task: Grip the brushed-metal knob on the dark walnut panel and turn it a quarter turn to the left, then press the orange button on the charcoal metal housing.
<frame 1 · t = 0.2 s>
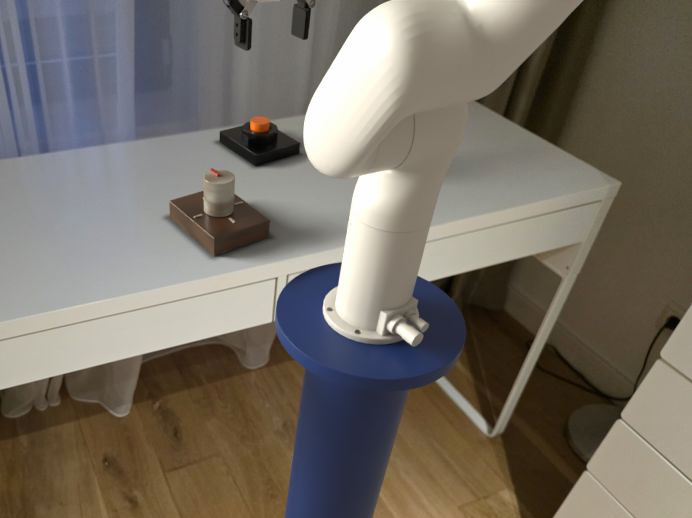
hand: (271, 42, 92), 25 cm above the table, tool pointing down, fingers open, 9 cm apart
perfume bottle: (332, 167, 119), on the table
button box: (258, 148, 124), on the table
button: (260, 125, 121), point 4 cm above the table, slide at 0.1 cm
knob: (219, 192, 98), point 6 cm above the table, hinge at 0.0°
panel: (218, 227, 102), on the table
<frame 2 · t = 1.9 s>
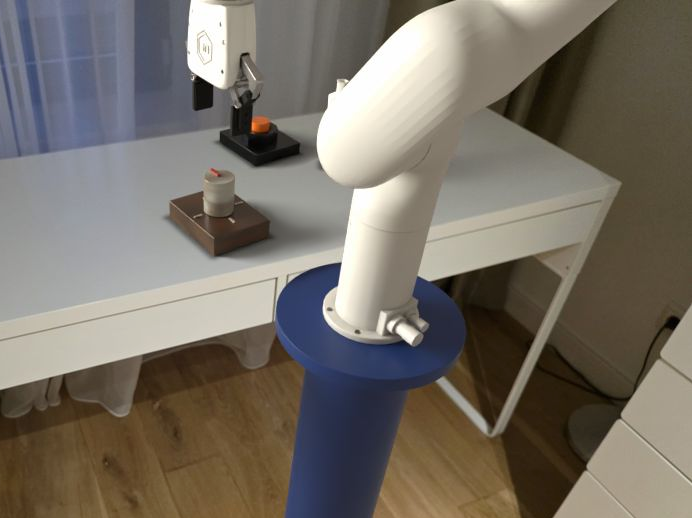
hand: (221, 120, 92), 17 cm above the table, tool pointing down, fingers open, 9 cm apart
nothing on the table moved.
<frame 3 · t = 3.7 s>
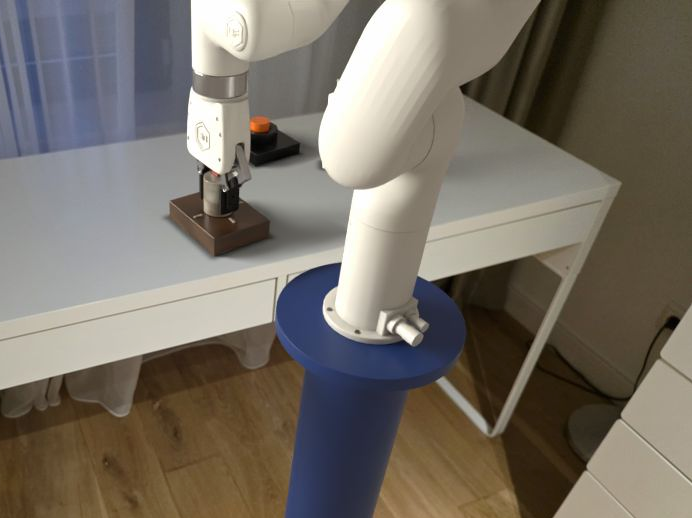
hand: (218, 203, 99), 4 cm above the table, tool pointing down, fingers closed on knob, 4 cm apart
knob: (219, 192, 98), point 6 cm above the table, hinge at 0.0°, touching gripper
everything else where it was.
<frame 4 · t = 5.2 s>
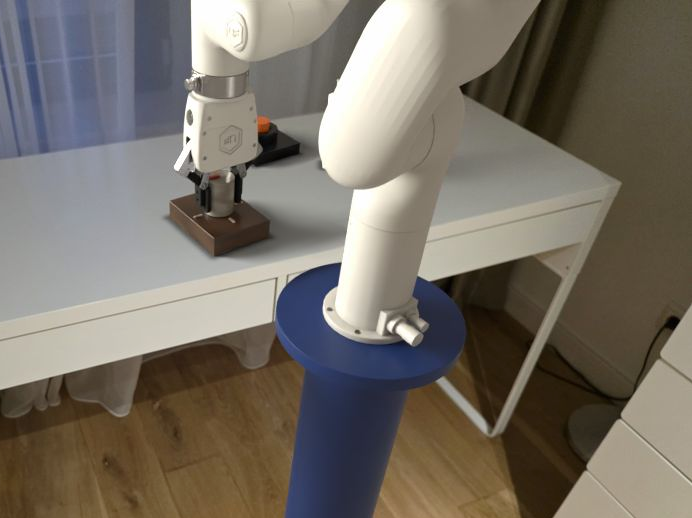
hand: (218, 203, 99), 4 cm above the table, tool pointing down, fingers closed on knob, 4 cm apart
knob: (219, 192, 98), point 6 cm above the table, hinge at 89.5°, touching gripper
everything else where it was.
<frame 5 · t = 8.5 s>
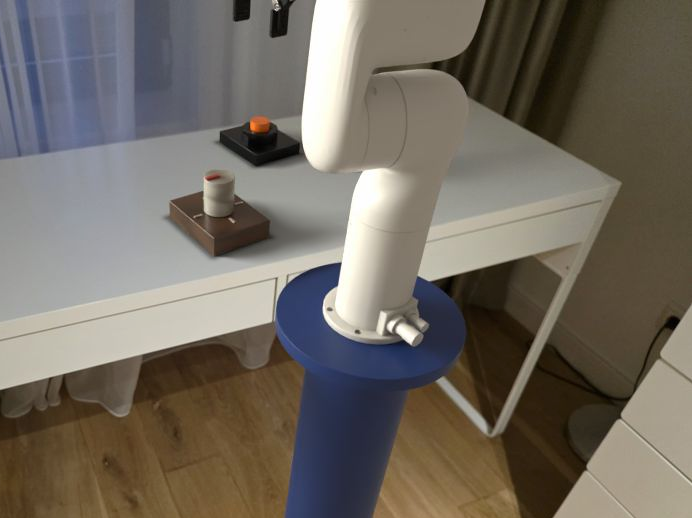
hand: (259, 28, 106), 22 cm above the table, tool pointing down, fingers open, 9 cm apart
knob: (219, 192, 98), point 6 cm above the table, hinge at 90.1°
everything else where it was.
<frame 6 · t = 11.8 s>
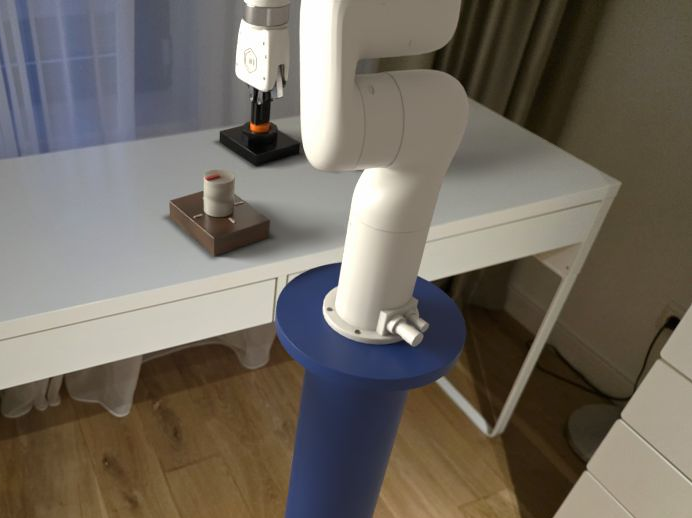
hand: (260, 122, 121), 5 cm above the table, tool pointing down, fingers closed
button: (260, 127, 121), point 4 cm above the table, slide at -0.4 cm, touching gripper
everything else where it was.
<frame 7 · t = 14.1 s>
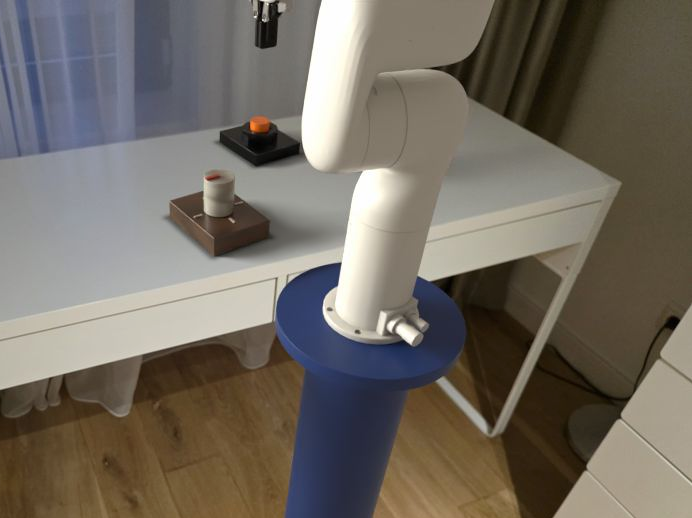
hand: (265, 46, 104), 21 cm above the table, tool pointing down, fingers closed
button: (260, 125, 121), point 4 cm above the table, slide at 0.1 cm
everything else where it was.
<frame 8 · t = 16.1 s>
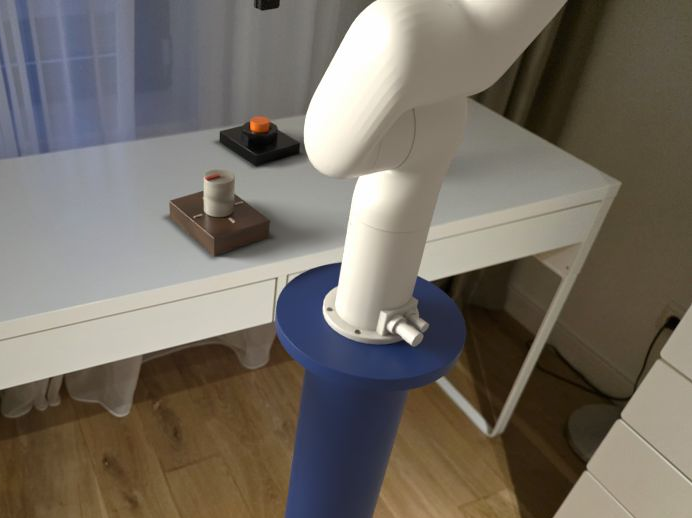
hand: (266, 7, 90), 29 cm above the table, tool pointing down, fingers closed
nothing on the table moved.
at the end: knob at +90° (first picture: +0°); button pushed in 1.1 cm at the most during the clip, back to where it started at the end; button slide at 0.1 cm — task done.
